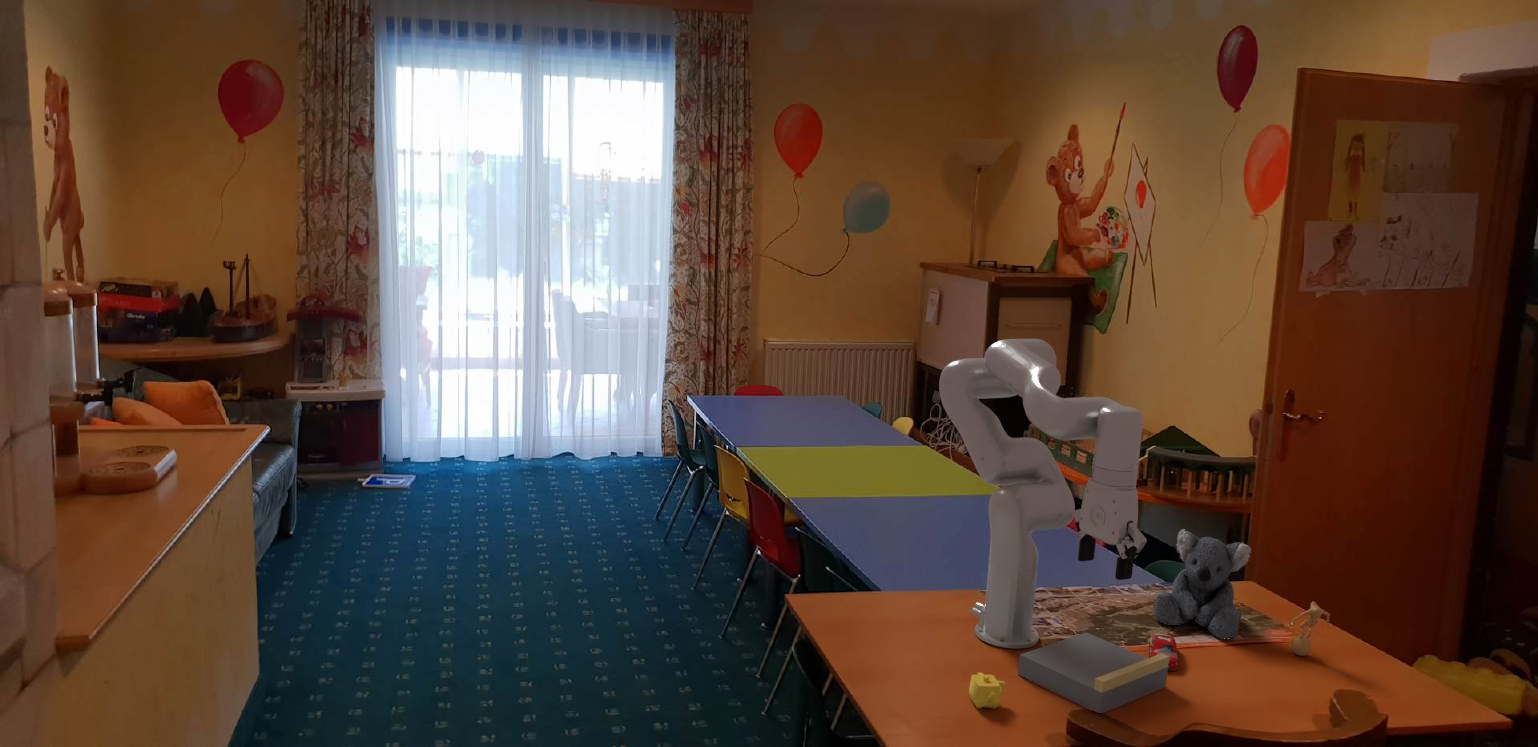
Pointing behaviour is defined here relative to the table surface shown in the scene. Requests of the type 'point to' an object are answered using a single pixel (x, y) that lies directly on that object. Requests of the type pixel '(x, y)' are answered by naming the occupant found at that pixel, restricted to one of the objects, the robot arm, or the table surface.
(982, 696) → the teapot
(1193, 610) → the koala plush
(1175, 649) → the race car
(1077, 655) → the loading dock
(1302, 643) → the figurine
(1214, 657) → the table surface
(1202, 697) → the table surface
